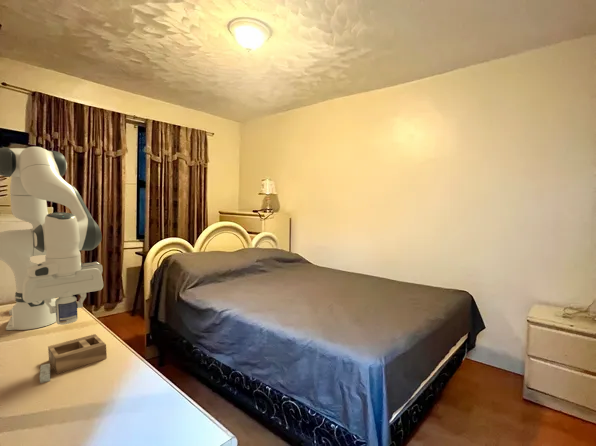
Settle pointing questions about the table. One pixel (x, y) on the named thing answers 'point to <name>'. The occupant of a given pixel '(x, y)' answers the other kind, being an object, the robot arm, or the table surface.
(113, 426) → the table surface
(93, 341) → the wooden compartment tray
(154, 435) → the table surface
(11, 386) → the table surface
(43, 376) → the slim grey peg
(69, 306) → the pill bottle
